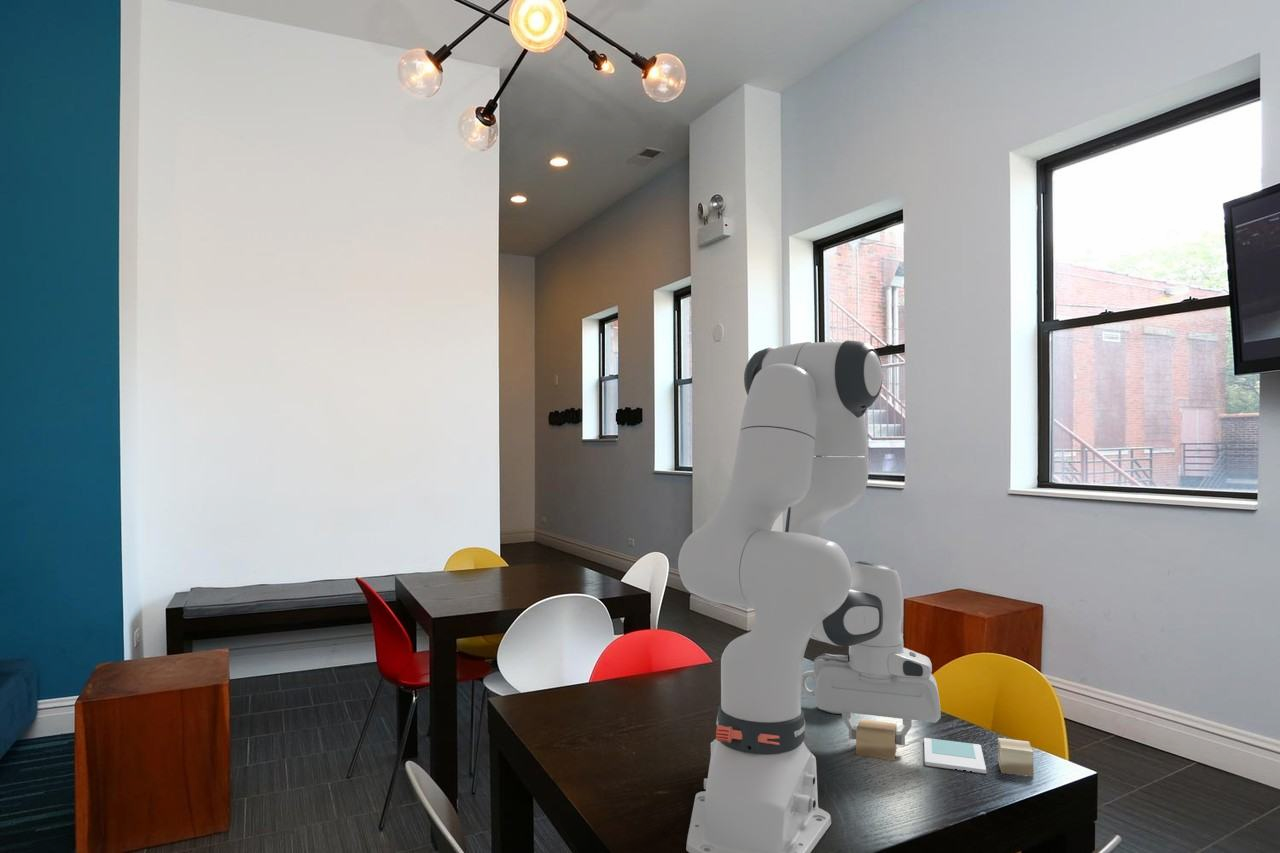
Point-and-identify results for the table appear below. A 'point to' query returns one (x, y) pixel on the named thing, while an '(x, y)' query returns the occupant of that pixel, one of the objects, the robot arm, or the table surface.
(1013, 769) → the maple block
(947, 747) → the plate
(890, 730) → the oak block
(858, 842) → the table surface
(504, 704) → the table surface
